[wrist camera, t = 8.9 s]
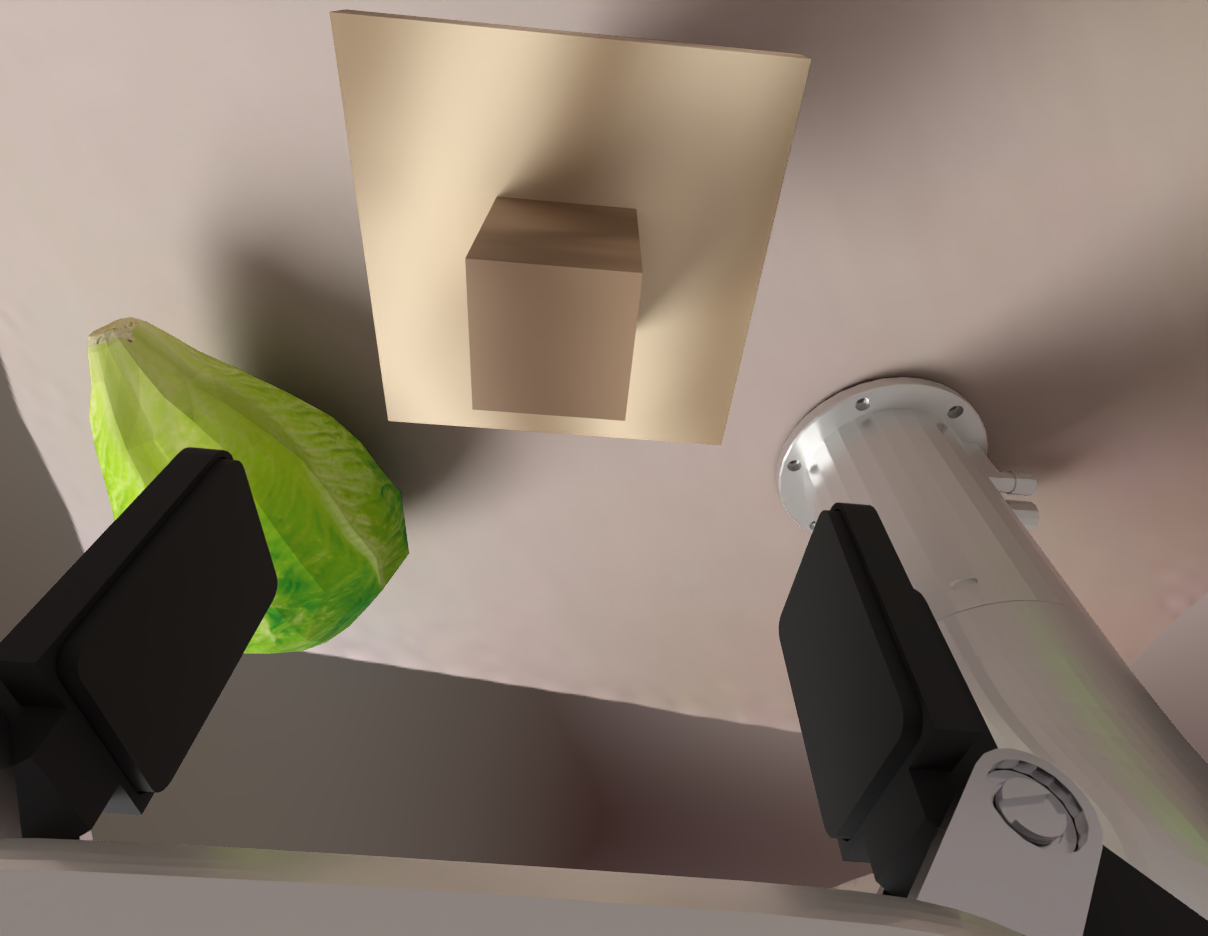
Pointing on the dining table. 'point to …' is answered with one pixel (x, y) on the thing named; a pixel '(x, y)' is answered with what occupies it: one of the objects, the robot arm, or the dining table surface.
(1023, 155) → the dining table surface
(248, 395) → the lettuce
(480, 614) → the dining table surface
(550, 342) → the lid
